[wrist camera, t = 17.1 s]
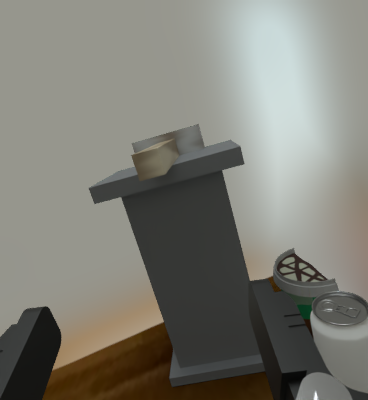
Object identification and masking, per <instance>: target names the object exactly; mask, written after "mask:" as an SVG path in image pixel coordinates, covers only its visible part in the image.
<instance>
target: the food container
mask: <svg viewBox="0 0 368 400" xmlns="http://www.w3.org/2000/svg"><path fill="white" fill-rule="evenodd" d="M273 277H274V281H275V283H276V285H277V286H278V287H279V288H281V290H282V291H284V292H285V293H286V294H288V295H289V296H290V297H291V298H292V299H293V300H294V301H295V303H296V305H297V307H298V309H299V311H300V313H301V316H302V317H303V320H304V322H305V324H306V327H307V328H308V330H309V332H310V334H311V336H313V332H312V327H311V321H310V315H311V312H312V302H313V301H314V299H315V298H316V297H318V296H319V295H321V294H324V293H327V292H333V291H339V290H338V286H337V283H336V282H335V279H331V280H328V279H326V278H325V277H324V276H323V275H322V274H321V273H319V272H318V271H317V270H316V269H315V268H314V267H313V266H312V265H311V264H309V263H307V262H305V261H304V260H302V259H301V258H299V257H298V256H297V255H296V254H295V252H294V248H293V249H290V250H288V251H286V252H284V253H283V254H281V255H280V256H279V257H278V258H277V259H276V261H275V265H274V271H273Z"/></svg>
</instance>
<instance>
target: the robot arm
mask: <svg viewBox="0 0 368 400" xmlns="http://www.w3.org/2000/svg"><path fill="white" fill-rule="evenodd" d="M248 308H249V316H250V320H251V324H252V328H253V331H254V334H255V338H256V341H257V344H258V348H259V351H260V355H261V358H262V361H263V365H264V368H265V371H266V375H267V378H268V381H269V385H270V388H271V392H272V395H273V398H274V400H368V393H365V392H360V391H357V390H353V389H351V388H349V387H347V386H345V385H344V384H342V383H341V382H340V381H339V380H337V379H336V378H335V377H334V376H333V375H332V374H331V373H330V371H329V370H328V368H327V367H326V365H325V363H324V361H323V359H322V356H321V354H320V352H319V350H318V348H317V346H316V344H315V342H314V340H313V338H312V336H311V334H310V332H309V330H308V328H307V327H306V324H305V322H304V320H303V317H302V316H301V313H300V311H299V309H298V307H297V305H296V303H295V301H294V300H293V299H292V298H291V297H290V296H289V295H288V294H286V293H285V292H284V291H281V292H274V291H273V289H272V286H271V284H270V282H269V280H268V279H262V280H254V281H249V282H248ZM60 345H61V332H60V329H59V327H58V325H57V323H56V321H55V319H54V317H53V315H52V313H51V311H50V309H49V308H48V307H37V308H30V309H26V310H25V311H24V312H23V313H22V315H21V317H20V319H19V321H18V323H17V324H14V325H11V327H9V329H8V330H7V331H6V332H5V333H4V334H3V335H2V336H1V337H0V400H42V398H43V395H44V392H45V389H46V386H47V383H48V380H49V378H50V375H51V372H52V369H53V366H54V363H55V360H56V357H57V354H58V352H59V348H60Z"/></svg>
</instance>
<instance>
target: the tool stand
mask: <svg viewBox="0 0 368 400" xmlns="http://www.w3.org/2000/svg"><path fill="white" fill-rule="evenodd" d="M243 164H244V161H243V156H242V152H241V147H240V146H239V145H237V144H236V143H234V142H233V141H231V140H229V141H225V142H222V143H218V144H215V145H211V146H207V147H204V149H201V150H197V151H193V152H190V153H186V154H183V155H179V157H178V158H177V159H176V161H175V162H174V163H173V165H172V166H171V167H170V169H169V170H168V171H167V173H166V174H165V175H161V176H157V177H154V178H150V179H146V180H143V181H140V180H139V177H138V174H137V171H136V168H135V167H132V168H128V169H125V170H121V171H118V172H116V173H115V174H113V175H111V176H109V177H107V178H106V179H104V180H102V181H100V182H99V183H97V184H95V185H94V186H91V187H90V188H89V190H90V193H91V196H92V198H93V201H94V203H95V204H96V203H100V202H104V201H108V200H111V199H115V198H118V197H121V198H122V201H123V204H124V207H125V209H126V212H127V215H128V218H129V221H130V224H131V227H132V230H133V233H134V235H135V238H136V241H137V244H138V247H139V250H140V253H141V256H142V259H143V261H144V264H145V267H146V270H147V273H148V276H149V279H150V282H151V285H152V288H153V291H154V294H155V296H156V300H157V302H158V305H159V308H160V311H161V314H162V317H163V320H164V323H165V326H166V329H167V331H168V334H169V337H170V340H171V343H172V346H173V355H172V363H171V370H170V377H169V379H170V382H171V385H172V387H174V386H180V385H186V384H192V383H198V382H204V381H210V380H216V379H222V378H228V377H234V376H240V375H246V374H251V373H257V372H263V371H265V368H264V365H263V361H262V358H261V355H260V351H259V348H258V344H257V341H256V338H255V334H254V331H253V328H252V324H251V320H250V316H249V308H248V282H249V281H250V280H249V276H248V272H247V268H246V264H245V260H244V256H243V252H242V248H241V244H240V240H239V236H238V232H237V228H236V224H235V220H234V216H233V212H232V208H231V205H230V200H229V196H228V193H227V189H226V185H225V181H224V177H223V173H222V170H224V169H228V168H231V167H235V166H239V165H243Z"/></svg>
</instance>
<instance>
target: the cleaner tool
mask: <svg viewBox="0 0 368 400" xmlns="http://www.w3.org/2000/svg"><path fill="white" fill-rule="evenodd" d="M132 145H133V149H134V152H135V154H133V155H132V159H133V162H134V165H135V168H136V171H137V174H138V177H139V180H140V181H143V180H146V179H150V178H154V177H157V176H161V175H165V174H166V173H167V171H168V170H169V169H170V167H171V166H172V165H173V163H174V162H175V161H176V159H177V158H178V157H179V155H183V154H186V153H190V152H193V151H197V150H201V149H204V143H203V139H202V135H201V131H200V127H199V125H198V124H197V125H194V126H190V127H187V128H184V129H180V130H177V131H173V132H170V133H166V134H163V135H159V136H156V137H153V138H150V139H146V140H142V141H139V142H135V143H132Z"/></svg>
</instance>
